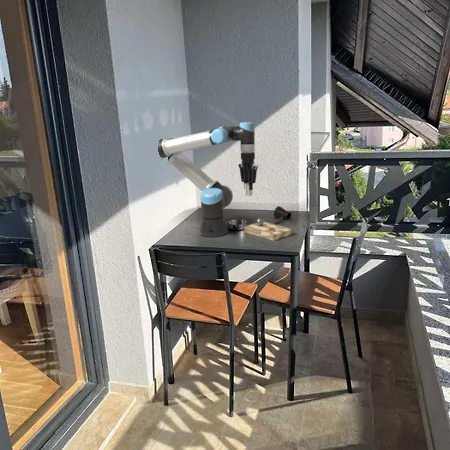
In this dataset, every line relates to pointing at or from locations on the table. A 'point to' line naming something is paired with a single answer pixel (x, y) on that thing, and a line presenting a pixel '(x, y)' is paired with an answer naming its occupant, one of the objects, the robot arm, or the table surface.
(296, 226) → the table surface
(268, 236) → the wooden board
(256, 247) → the table surface
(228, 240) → the table surface
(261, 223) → the steel ball
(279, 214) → the coffee pot
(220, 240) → the table surface
